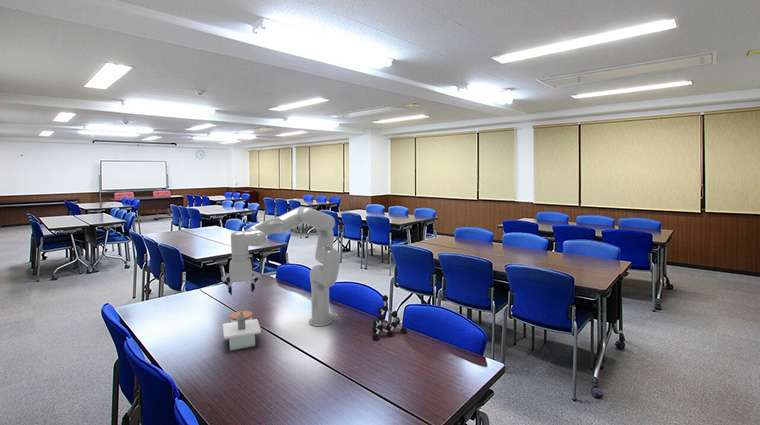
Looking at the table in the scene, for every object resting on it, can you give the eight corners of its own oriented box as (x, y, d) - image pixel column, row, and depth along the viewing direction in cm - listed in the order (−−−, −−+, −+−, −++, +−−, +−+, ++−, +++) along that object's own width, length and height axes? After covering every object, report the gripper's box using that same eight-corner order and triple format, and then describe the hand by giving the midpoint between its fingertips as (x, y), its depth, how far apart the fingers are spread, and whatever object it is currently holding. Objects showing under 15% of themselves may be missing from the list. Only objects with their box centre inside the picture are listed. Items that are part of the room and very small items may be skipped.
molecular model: (374, 324, 203) (374, 288, 201) (407, 332, 193) (408, 295, 191) (356, 336, 187) (356, 298, 185) (391, 346, 178) (392, 305, 176)
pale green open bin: (252, 336, 186) (252, 323, 185) (255, 346, 176) (254, 331, 175) (228, 340, 181) (228, 326, 181) (230, 350, 171) (229, 335, 171)
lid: (257, 320, 188) (256, 309, 188) (261, 332, 174) (260, 320, 173) (222, 325, 182) (222, 313, 181) (224, 339, 167) (223, 326, 167)
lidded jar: (245, 333, 189) (245, 316, 188) (226, 332, 191) (226, 314, 190) (256, 325, 200) (256, 308, 199) (238, 323, 202) (238, 307, 201)
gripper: (258, 254, 182) (259, 288, 184) (220, 257, 175) (221, 293, 177) (260, 257, 176) (261, 292, 177) (220, 261, 168) (222, 297, 170)
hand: (241, 292), depth 177 cm, fingers open, 9 cm apart
